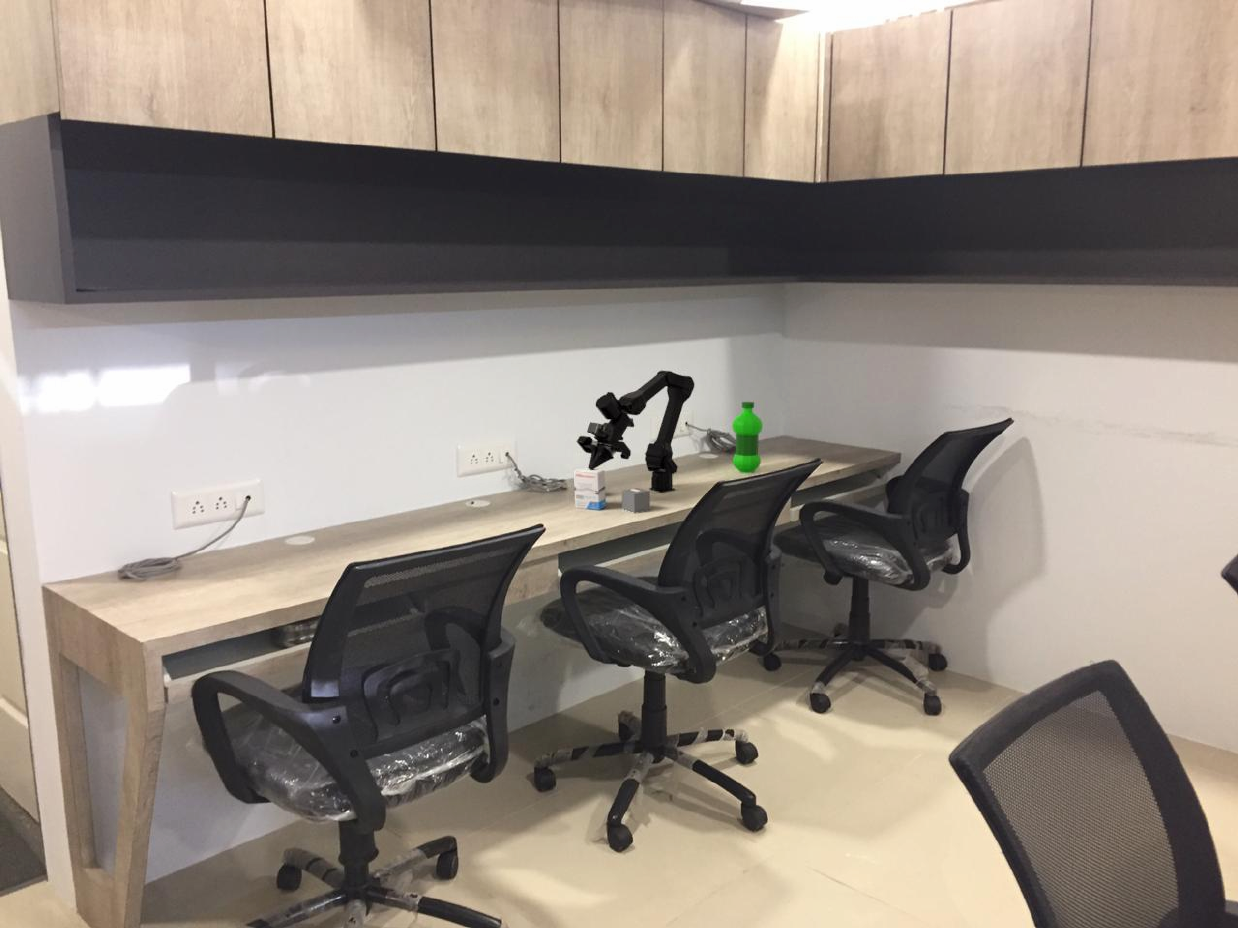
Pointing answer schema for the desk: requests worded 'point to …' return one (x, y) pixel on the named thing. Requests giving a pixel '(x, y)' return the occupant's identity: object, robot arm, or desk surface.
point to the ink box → (589, 489)
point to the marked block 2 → (636, 500)
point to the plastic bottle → (747, 439)
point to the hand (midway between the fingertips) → (590, 468)
